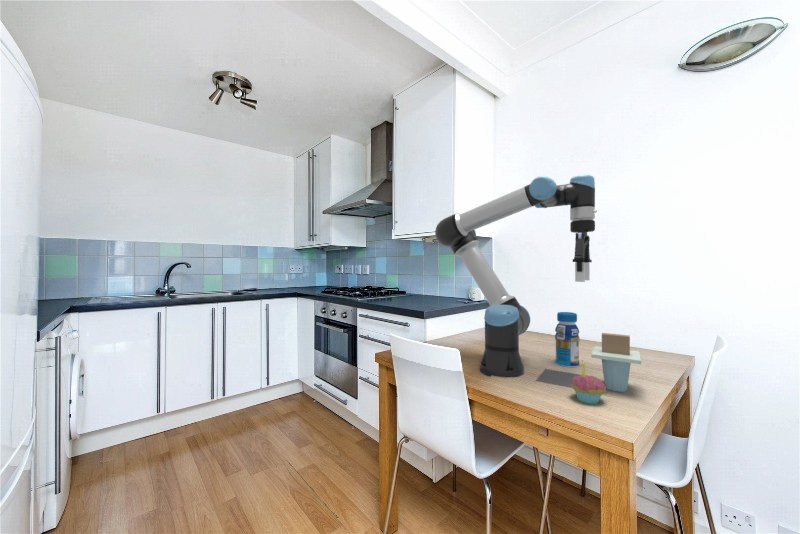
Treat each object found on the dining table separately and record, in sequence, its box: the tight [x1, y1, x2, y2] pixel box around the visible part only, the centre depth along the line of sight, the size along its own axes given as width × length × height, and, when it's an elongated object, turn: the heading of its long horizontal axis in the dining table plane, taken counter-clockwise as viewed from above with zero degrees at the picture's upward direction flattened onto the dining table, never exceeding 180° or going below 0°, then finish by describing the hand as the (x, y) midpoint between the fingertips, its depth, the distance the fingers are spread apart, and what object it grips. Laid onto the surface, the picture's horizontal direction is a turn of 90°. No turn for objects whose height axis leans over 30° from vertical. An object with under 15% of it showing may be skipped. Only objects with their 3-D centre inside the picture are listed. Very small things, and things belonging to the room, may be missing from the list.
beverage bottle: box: [554, 311, 581, 368], centre depth 122 cm, size 8×8×20 cm
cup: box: [601, 359, 632, 393], centre depth 97 cm, size 8×8×10 cm
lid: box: [590, 332, 642, 365], centre depth 97 cm, size 12×12×6 cm
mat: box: [535, 368, 580, 389], centre depth 105 cm, size 15×15×1 cm
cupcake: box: [571, 359, 607, 405], centre depth 89 cm, size 9×8×12 cm
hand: (582, 281), depth 112 cm, fingers open, 13 cm apart
